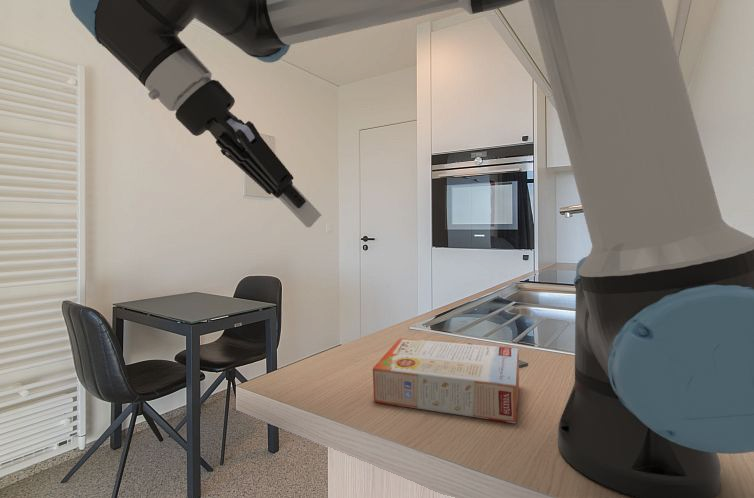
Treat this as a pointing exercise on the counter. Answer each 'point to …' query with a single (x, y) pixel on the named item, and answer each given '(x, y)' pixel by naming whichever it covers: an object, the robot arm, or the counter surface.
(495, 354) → the cracker box
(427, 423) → the counter surface
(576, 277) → the robot arm
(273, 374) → the counter surface
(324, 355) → the counter surface
